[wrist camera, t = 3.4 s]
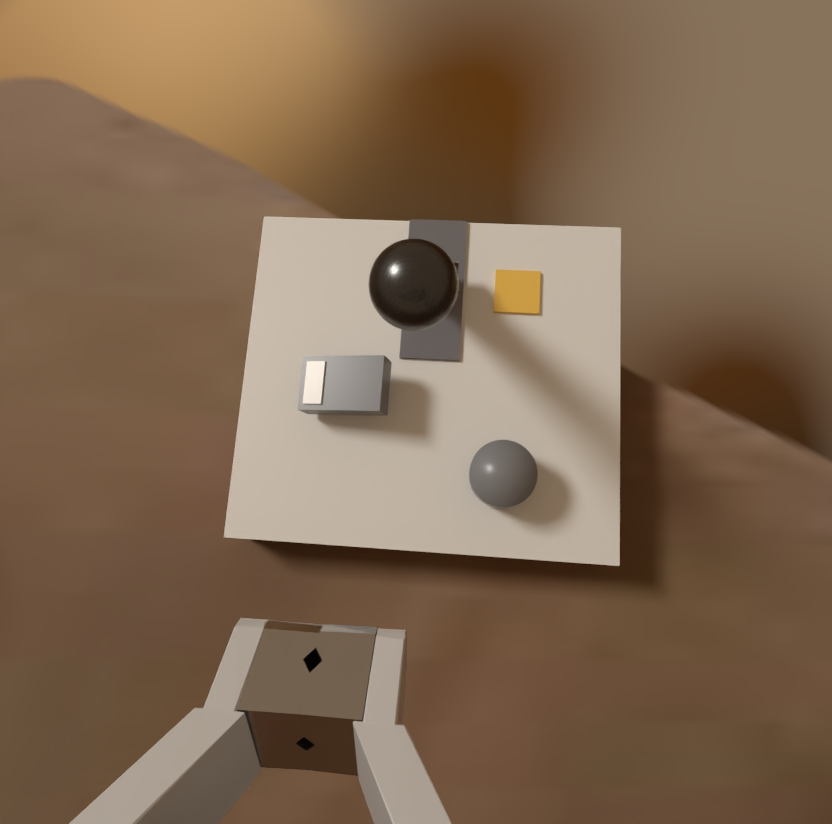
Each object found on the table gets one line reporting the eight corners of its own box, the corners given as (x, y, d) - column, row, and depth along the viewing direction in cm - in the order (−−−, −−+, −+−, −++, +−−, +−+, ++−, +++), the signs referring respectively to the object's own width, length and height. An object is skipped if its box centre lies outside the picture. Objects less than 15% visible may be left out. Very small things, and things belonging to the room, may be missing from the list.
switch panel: (606, 252, 35) (621, 225, 32) (604, 562, 32) (620, 566, 29) (279, 241, 36) (262, 214, 33) (244, 536, 33) (222, 537, 30)
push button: (533, 446, 30) (538, 441, 28) (531, 510, 29) (536, 509, 27) (470, 442, 30) (471, 437, 28) (467, 506, 29) (467, 504, 28)
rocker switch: (391, 362, 30) (383, 354, 29) (387, 415, 30) (378, 410, 28) (313, 362, 31) (302, 355, 30) (307, 414, 31) (296, 409, 29)
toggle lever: (460, 307, 32) (455, 338, 18) (405, 304, 32) (360, 333, 19) (463, 249, 31) (460, 238, 18) (407, 247, 31) (361, 234, 18)
